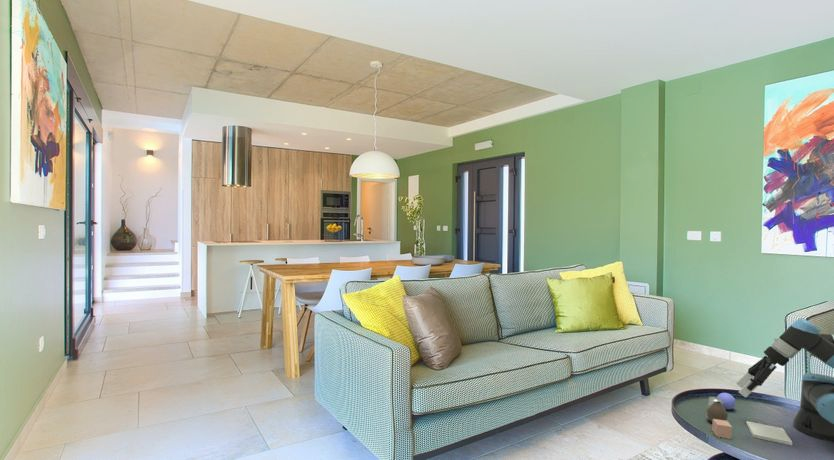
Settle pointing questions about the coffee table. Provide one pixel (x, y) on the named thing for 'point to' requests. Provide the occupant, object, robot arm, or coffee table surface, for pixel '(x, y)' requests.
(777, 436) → the board
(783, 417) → the coffee table surface
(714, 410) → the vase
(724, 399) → the sphere
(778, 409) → the coffee table surface
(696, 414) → the coffee table surface
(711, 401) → the metal tin
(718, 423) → the terracotta block
